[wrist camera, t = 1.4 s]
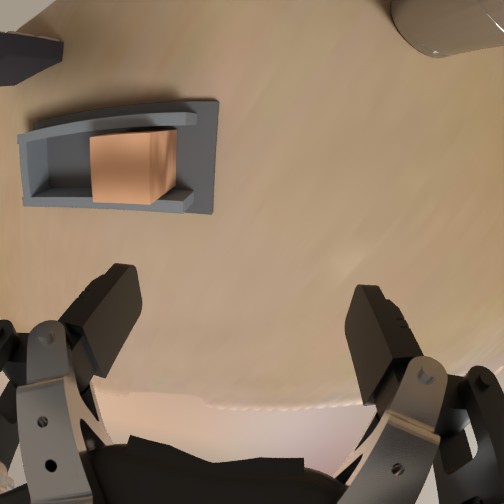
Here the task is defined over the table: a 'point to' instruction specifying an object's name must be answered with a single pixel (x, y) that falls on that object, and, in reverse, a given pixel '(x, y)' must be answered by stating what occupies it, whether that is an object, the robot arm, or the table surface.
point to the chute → (114, 121)
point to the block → (133, 166)
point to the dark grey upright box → (26, 56)
